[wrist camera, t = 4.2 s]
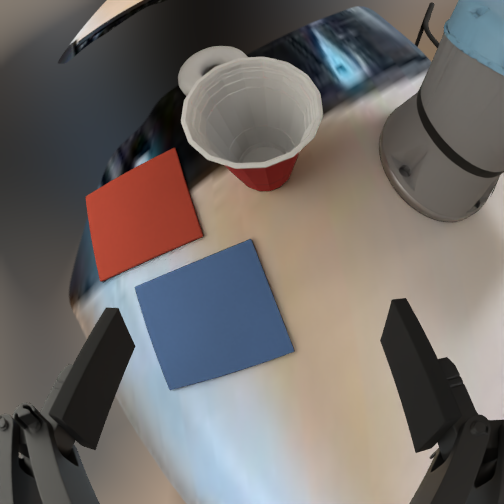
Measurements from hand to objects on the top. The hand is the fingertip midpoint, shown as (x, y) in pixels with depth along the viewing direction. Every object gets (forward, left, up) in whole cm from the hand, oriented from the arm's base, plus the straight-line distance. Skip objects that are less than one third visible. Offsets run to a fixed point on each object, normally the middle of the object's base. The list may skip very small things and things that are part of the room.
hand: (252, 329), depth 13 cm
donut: (-26, -17, -16) cm, 35 cm away
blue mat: (+3, -6, -15) cm, 17 cm away
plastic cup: (-14, -6, -16) cm, 22 cm away
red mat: (-5, -19, -15) cm, 25 cm away
